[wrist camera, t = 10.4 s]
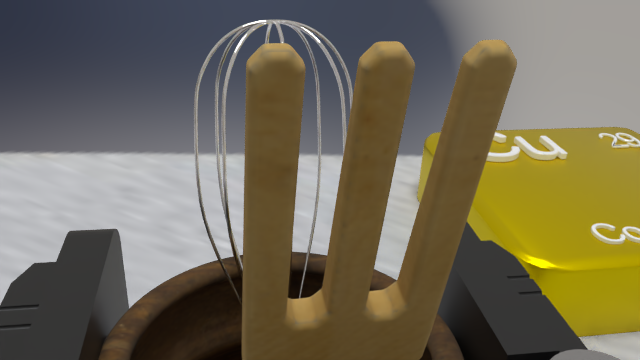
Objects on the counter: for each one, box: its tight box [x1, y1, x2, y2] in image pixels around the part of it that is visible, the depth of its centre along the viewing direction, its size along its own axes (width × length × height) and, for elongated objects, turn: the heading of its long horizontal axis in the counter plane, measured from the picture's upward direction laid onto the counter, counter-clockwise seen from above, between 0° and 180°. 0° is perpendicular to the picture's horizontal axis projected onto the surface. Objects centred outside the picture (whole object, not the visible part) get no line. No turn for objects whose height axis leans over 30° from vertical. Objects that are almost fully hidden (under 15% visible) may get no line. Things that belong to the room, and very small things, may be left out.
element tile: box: [417, 127, 640, 337], centre depth 34 cm, size 15×15×5 cm
